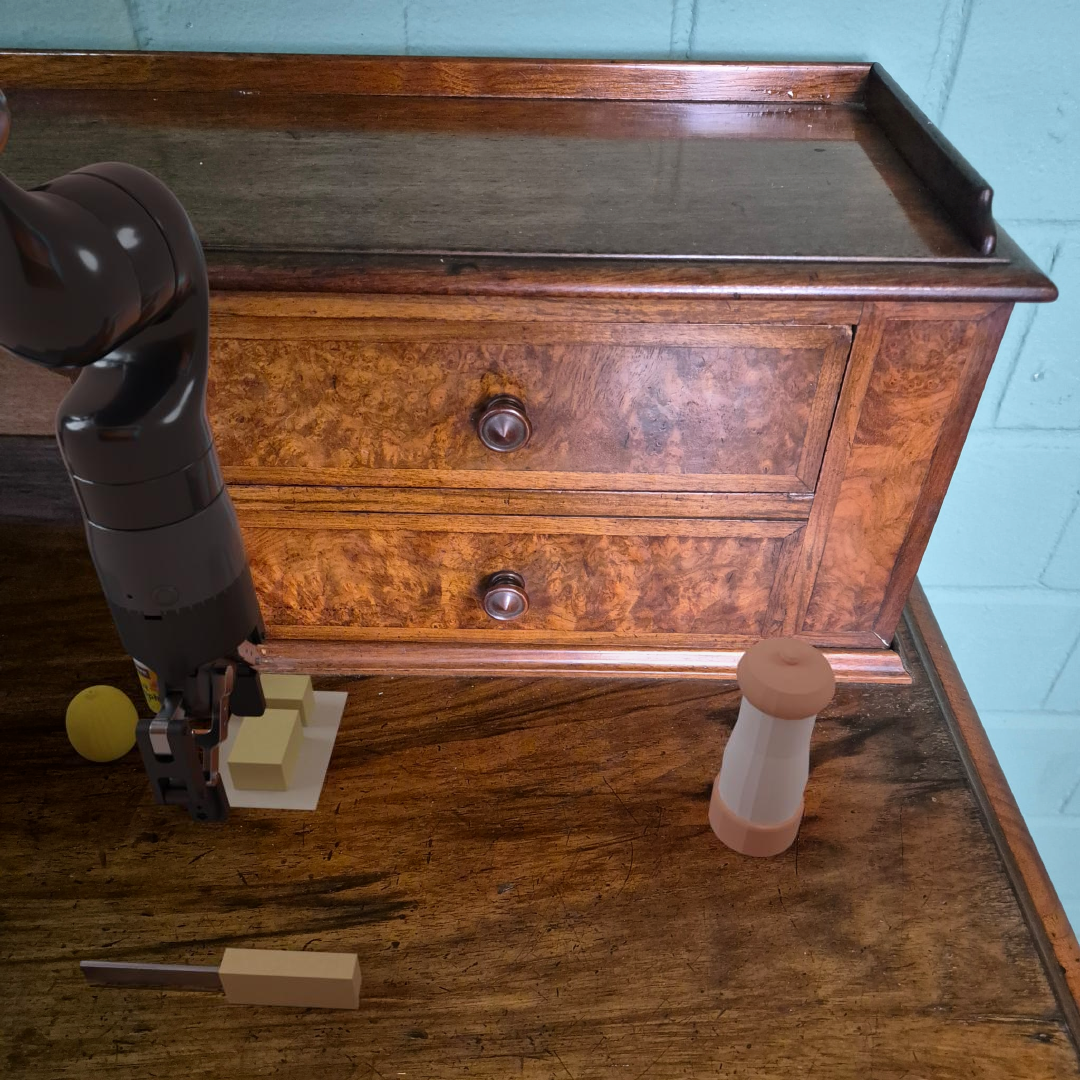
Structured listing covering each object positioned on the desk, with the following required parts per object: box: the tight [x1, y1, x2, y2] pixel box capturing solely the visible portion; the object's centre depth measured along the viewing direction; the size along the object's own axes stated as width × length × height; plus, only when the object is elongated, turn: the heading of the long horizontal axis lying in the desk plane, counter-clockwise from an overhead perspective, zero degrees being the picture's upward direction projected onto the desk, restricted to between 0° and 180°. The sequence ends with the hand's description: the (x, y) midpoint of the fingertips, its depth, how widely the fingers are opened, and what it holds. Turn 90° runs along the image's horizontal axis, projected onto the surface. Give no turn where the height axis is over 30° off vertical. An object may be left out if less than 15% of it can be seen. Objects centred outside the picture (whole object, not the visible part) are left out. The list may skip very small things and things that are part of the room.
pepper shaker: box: [707, 636, 836, 858], centre depth 73 cm, size 7×7×19 cm
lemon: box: [65, 684, 140, 763], centre depth 81 cm, size 6×6×8 cm
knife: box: [79, 947, 363, 1010], centre depth 65 cm, size 19×2×4 cm, turn 88°
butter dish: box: [219, 690, 349, 811], centre depth 83 cm, size 10×13×1 cm
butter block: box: [227, 709, 304, 791], centre depth 81 cm, size 4×6×4 cm
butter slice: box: [259, 673, 315, 726], centre depth 85 cm, size 4×3×4 cm, turn 88°
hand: (232, 762), depth 61 cm, fingers open, 8 cm apart
